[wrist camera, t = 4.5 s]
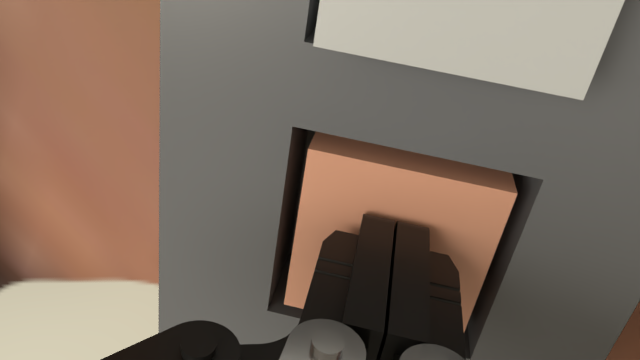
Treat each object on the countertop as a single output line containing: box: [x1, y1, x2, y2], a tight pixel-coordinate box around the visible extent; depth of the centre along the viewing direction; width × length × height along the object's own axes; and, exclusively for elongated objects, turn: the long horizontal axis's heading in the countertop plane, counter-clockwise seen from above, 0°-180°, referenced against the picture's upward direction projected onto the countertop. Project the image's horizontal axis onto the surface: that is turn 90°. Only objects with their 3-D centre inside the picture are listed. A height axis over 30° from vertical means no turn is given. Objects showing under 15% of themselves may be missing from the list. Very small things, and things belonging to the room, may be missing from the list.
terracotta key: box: [284, 132, 518, 331], centre depth 14 cm, size 4×4×2 cm
